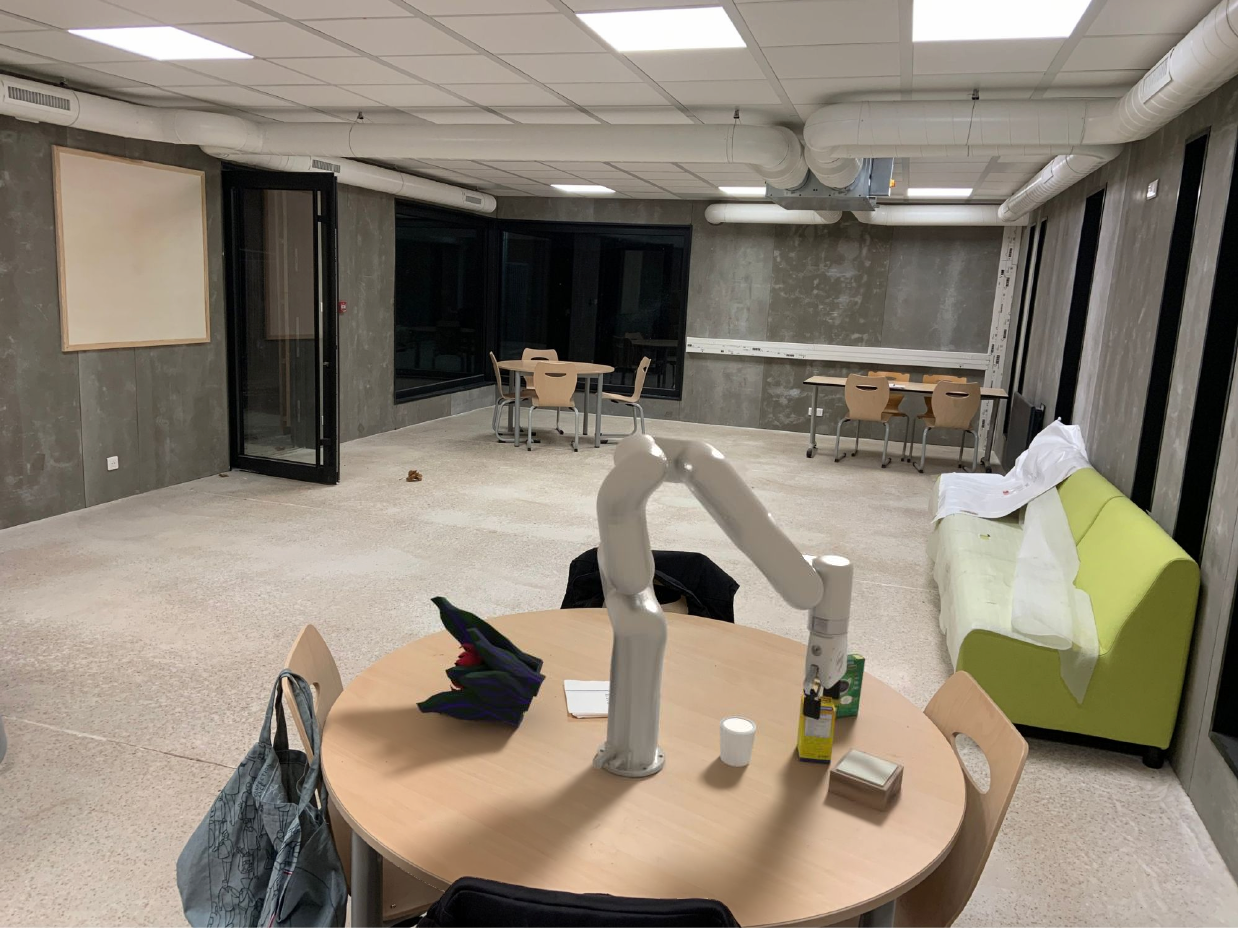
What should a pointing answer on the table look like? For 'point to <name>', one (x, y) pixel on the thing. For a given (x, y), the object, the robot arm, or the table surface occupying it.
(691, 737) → the table surface
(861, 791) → the brown small box
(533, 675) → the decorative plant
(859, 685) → the coffee box
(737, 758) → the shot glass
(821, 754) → the supplement box
